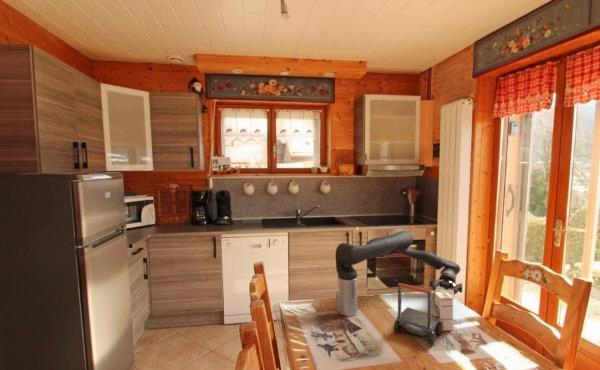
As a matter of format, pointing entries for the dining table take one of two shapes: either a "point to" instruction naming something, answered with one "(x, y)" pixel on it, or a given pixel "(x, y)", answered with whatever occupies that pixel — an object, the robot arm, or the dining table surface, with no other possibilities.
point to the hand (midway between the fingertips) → (444, 290)
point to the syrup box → (444, 309)
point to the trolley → (418, 317)
